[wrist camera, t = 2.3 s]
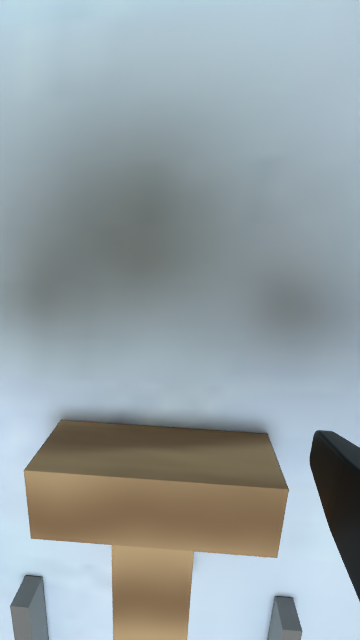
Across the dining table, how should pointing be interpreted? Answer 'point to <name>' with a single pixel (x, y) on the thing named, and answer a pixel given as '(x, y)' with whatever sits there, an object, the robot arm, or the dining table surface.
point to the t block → (156, 508)
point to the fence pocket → (33, 620)
